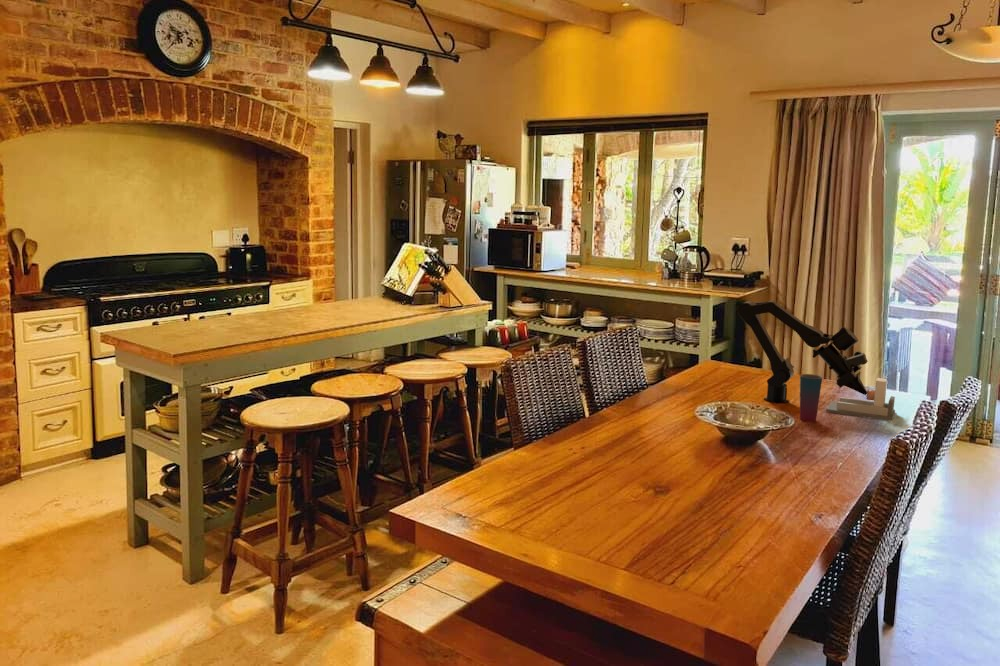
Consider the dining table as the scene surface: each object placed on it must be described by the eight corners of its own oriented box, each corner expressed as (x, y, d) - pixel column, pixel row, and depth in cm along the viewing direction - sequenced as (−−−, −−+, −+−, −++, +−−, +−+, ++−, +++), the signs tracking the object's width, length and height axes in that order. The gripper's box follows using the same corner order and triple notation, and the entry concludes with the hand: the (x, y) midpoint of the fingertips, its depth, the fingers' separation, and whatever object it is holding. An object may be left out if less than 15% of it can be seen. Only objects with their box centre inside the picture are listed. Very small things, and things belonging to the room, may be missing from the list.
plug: (865, 410, 262) (867, 379, 260) (866, 407, 266) (869, 376, 264) (882, 413, 259) (885, 381, 257) (884, 409, 263) (887, 378, 261)
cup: (795, 421, 254) (799, 377, 251) (798, 416, 260) (801, 373, 257) (817, 423, 251) (821, 379, 248) (819, 418, 257) (823, 375, 254)
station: (826, 411, 265) (827, 395, 264) (831, 404, 275) (832, 388, 274) (891, 420, 255) (893, 403, 254) (894, 412, 265) (896, 395, 264)
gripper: (849, 349, 255) (883, 385, 251) (856, 340, 271) (888, 374, 267) (822, 369, 261) (855, 405, 257) (831, 360, 276) (862, 393, 272)
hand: (866, 394), depth 263 cm, fingers closed, pressing on plug
